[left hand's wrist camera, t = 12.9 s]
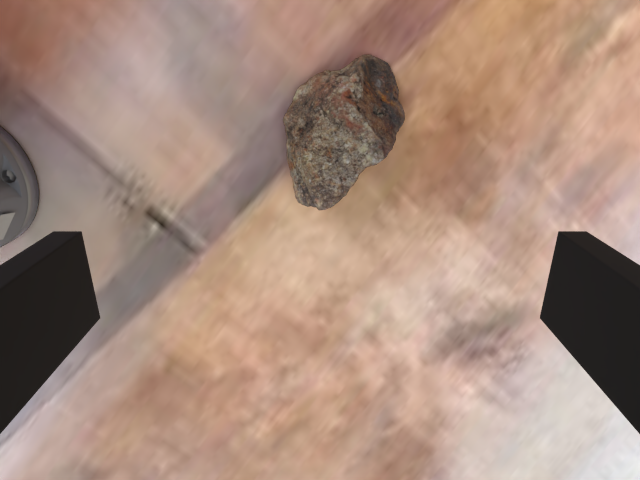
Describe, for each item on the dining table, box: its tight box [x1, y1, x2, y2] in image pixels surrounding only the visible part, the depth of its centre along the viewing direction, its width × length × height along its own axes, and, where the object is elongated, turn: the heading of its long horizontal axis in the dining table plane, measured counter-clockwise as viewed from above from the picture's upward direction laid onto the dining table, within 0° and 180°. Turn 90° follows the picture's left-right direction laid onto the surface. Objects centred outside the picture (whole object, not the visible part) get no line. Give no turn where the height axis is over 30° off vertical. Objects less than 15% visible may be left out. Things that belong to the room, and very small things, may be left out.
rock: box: [283, 55, 405, 210], centre depth 41 cm, size 14×9×10 cm
